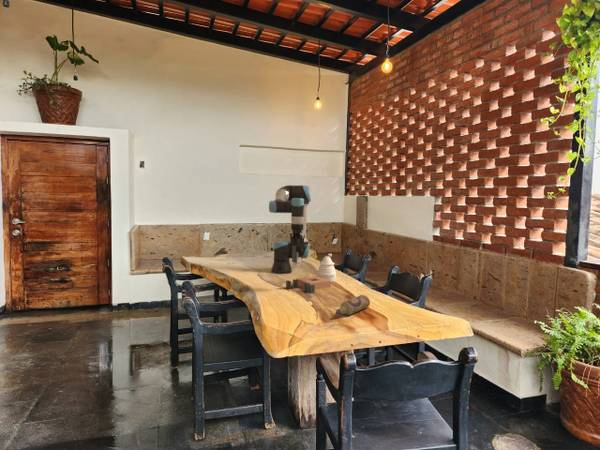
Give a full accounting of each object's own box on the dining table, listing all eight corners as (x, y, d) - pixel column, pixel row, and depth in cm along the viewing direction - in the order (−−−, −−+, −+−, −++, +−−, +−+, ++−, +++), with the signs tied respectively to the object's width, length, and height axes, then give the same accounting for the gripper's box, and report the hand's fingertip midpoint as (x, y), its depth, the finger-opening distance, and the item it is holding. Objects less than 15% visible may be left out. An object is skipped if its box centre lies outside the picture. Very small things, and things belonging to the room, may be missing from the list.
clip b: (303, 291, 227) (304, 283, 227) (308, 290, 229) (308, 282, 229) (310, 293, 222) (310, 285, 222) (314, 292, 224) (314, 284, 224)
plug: (292, 264, 231) (292, 245, 230) (297, 264, 233) (297, 245, 232) (295, 265, 227) (295, 246, 226) (301, 265, 230) (301, 245, 229)
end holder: (295, 284, 243) (295, 278, 243) (315, 281, 252) (315, 275, 252) (310, 290, 230) (310, 283, 229) (330, 286, 239) (330, 280, 238)
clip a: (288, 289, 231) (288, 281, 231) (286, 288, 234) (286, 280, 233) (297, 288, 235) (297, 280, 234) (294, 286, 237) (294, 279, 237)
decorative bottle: (329, 317, 180) (329, 303, 180) (357, 305, 200) (358, 293, 199) (342, 320, 175) (342, 306, 175) (370, 308, 195) (370, 296, 194)
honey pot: (336, 278, 264) (336, 252, 263) (335, 282, 251) (336, 255, 250) (317, 277, 265) (318, 252, 264) (316, 281, 253) (317, 255, 251)
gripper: (284, 222, 233) (284, 260, 235) (299, 224, 219) (299, 264, 221) (295, 222, 237) (294, 259, 239) (310, 224, 223) (309, 263, 225)
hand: (296, 261), depth 230 cm, fingers closed on plug, 4 cm apart
